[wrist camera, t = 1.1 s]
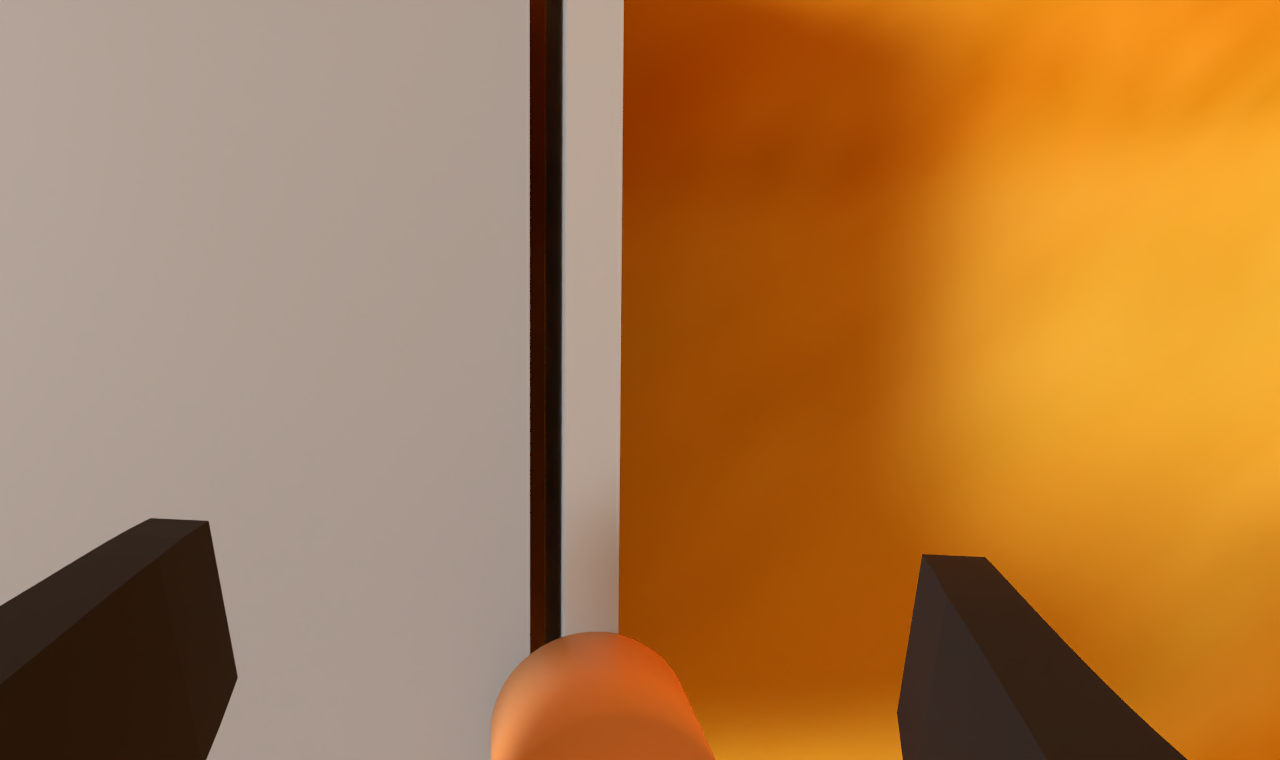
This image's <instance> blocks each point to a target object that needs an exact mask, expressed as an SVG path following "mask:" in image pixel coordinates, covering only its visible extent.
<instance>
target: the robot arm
mask: <svg viewBox="0 0 1280 760" xmlns="http://www.w3.org/2000/svg"><path fill="white" fill-rule="evenodd" d="M237 679H238V675H237V670H236V665H235V659H234V654H233V649H232V643H231V638H230V633H229V627H228V622H227V616H226V611H225V606H224V600H223V595H222V590H221V584H220V579H219V574H218V568H217V563H216V557H215V552H214V547H213V541H212V536H211V531H210V525H209V521H202V520H181V519H159V518H150V519H148V520H146V521H144V522H142V523H140V524H138V525H136V526H134V527H132V528H130V529H128V530H126V531H125V532H123V533H121V534H119V535H117V536H116V537H114V538H112V539H110V540H109V541H107V542H105V543H103V544H102V545H100V546H98V547H97V548H95V549H93V550H92V551H90V552H88V553H87V554H85V555H83V556H82V557H80V558H78V559H77V560H75V561H73V562H72V563H70V564H68V565H67V566H65V567H63V568H62V569H60V570H59V571H57V572H55V573H54V574H52V575H50V576H49V577H47V578H45V579H44V580H42V581H40V582H39V583H37V584H36V585H34V586H32V587H31V588H29V589H27V590H26V591H24V592H22V593H21V594H19V595H17V596H16V597H14V598H12V599H11V600H9V601H7V602H6V603H4V604H2V605H1V606H0V760H206V759H207V757H208V754H209V752H210V750H211V747H212V745H213V742H214V740H215V737H216V735H217V732H218V730H219V727H220V725H221V722H222V719H223V717H224V714H225V711H226V709H227V706H228V703H229V701H230V698H231V695H232V692H233V690H234V687H235V684H236V682H237ZM897 715H898V723H899V731H900V740H901V748H902V756H903V760H1187V759H1186V758H1185V757H1184V756H1183V755H1182V754H1180V753H1179V752H1178V751H1177V750H1176V749H1175V748H1174V747H1173V746H1171V745H1170V744H1169V743H1168V742H1167V741H1166V740H1165V739H1164V738H1162V737H1161V736H1160V735H1159V734H1158V733H1157V732H1156V731H1155V730H1153V729H1152V728H1151V727H1150V726H1149V725H1148V724H1147V723H1146V722H1145V721H1144V720H1143V719H1142V718H1141V717H1140V716H1139V715H1138V714H1137V713H1135V712H1134V711H1133V710H1132V709H1131V708H1130V707H1129V706H1128V705H1127V704H1126V703H1125V702H1124V701H1123V700H1122V699H1121V698H1120V697H1119V696H1118V695H1117V694H1116V693H1115V692H1114V691H1113V690H1112V689H1111V688H1110V687H1109V686H1108V685H1106V683H1105V682H1104V681H1103V680H1102V679H1101V678H1100V677H1099V676H1098V675H1097V674H1096V673H1095V672H1094V671H1093V670H1092V669H1091V668H1090V667H1089V666H1088V665H1087V664H1086V663H1085V662H1084V661H1083V660H1082V659H1081V658H1080V657H1079V656H1078V655H1077V654H1076V653H1075V652H1074V651H1073V650H1072V649H1071V648H1070V647H1069V646H1068V645H1067V644H1066V643H1065V642H1064V641H1063V640H1062V639H1061V638H1060V637H1059V635H1058V634H1057V633H1056V632H1055V631H1054V630H1053V629H1052V628H1051V627H1050V626H1049V625H1048V624H1047V623H1046V622H1045V621H1044V620H1043V619H1042V618H1041V616H1040V615H1039V614H1038V613H1037V612H1036V611H1035V610H1034V609H1033V608H1032V607H1031V606H1030V605H1029V604H1028V603H1027V601H1026V600H1025V599H1024V598H1023V597H1022V596H1021V595H1020V594H1019V593H1018V592H1017V591H1016V590H1015V588H1014V587H1013V586H1012V585H1011V584H1010V583H1009V582H1008V581H1007V580H1006V579H1005V578H1004V577H1003V576H1002V575H1001V573H1000V572H999V571H998V570H997V569H996V568H995V567H994V566H993V565H992V564H991V563H990V562H989V561H988V560H987V559H986V558H985V557H967V556H946V555H925V554H922V560H921V567H920V573H919V579H918V585H917V592H916V598H915V604H914V610H913V617H912V623H911V629H910V636H909V642H908V648H907V654H906V661H905V667H904V673H903V680H902V686H901V692H900V698H899V705H898V711H897Z"/></svg>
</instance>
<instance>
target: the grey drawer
mask: <svg viewBox="0 0 1280 760" xmlns="http://www.w3.org/2000/svg"><path fill="white" fill-rule="evenodd" d="M623 41H624V0H545V641H544V645H543V646H541V647H540V648H538V649H537V650H536V651H534V652H533V653H531V654H530V655H529V656H528V657H526V658H525V659H524V660H523V661H522V662H521V663H520V664H519V665H518V666H517V667H516V668H515V669H514V671H513V672H512V673H511V674H510V676H509V677H508V679H507V680H506V682H505V683H504V685H503V687H502V689H501V691H500V693H499V695H498V697H497V700H496V703H495V706H494V710H493V715H492V720H491V760H715V758H714V756H713V754H712V751H711V749H710V747H709V745H708V743H707V740H706V738H705V736H704V734H703V731H702V729H701V727H700V725H699V723H698V720H697V718H696V716H695V714H694V712H693V709H692V707H691V705H690V703H689V700H688V698H687V696H686V694H685V692H684V689H683V687H682V685H681V683H680V681H679V679H678V677H677V676H676V674H675V673H674V671H673V670H672V668H671V667H670V666H669V665H668V664H667V662H666V661H665V660H664V659H663V658H662V657H661V656H660V655H658V654H657V653H656V652H655V651H654V650H652V649H651V648H649V647H648V646H646V645H644V644H643V643H641V642H639V641H636V640H634V639H632V638H630V637H626V636H623V635H619V634H618V631H619V513H620V395H621V277H622V159H623Z"/></svg>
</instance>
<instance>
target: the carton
mask: <svg viewBox="0 0 1280 760" xmlns="http://www.w3.org/2000/svg"><path fill="white" fill-rule="evenodd" d="M150 518H159V519H181V520H202V521H209V525H210V531H211V536H212V541H213V547H214V552H215V557H216V563H217V568H218V574H219V579H220V584H221V590H222V595H223V600H224V606H225V611H226V616H227V622H228V627H229V633H230V638H231V643H232V649H233V654H234V659H235V665H236V670H237V675H238V679H237V682H236V684H235V687H234V690H233V692H232V695H231V698H230V701H229V703H228V706H227V709H226V711H225V714H224V717H223V719H222V722H221V725H220V727H219V730H218V732H217V735H216V737H215V740H214V742H213V745H212V747H211V750H210V752H209V754H208V757H207V759H206V760H491V720H492V715H493V710H494V706H495V703H496V700H497V697H498V695H499V693H500V691H501V689H502V687H503V685H504V683H505V682H506V680H507V679H508V677H509V676H510V674H511V673H512V672H513V671H514V669H515V668H516V667H517V666H518V665H519V664H520V663H521V662H522V661H523V660H524V659H525V658H526V657H528V656H529V655H530V0H0V606H1V605H2V604H4V603H6V602H7V601H9V600H11V599H12V598H14V597H16V596H17V595H19V594H21V593H22V592H24V591H26V590H27V589H29V588H31V587H32V586H34V585H36V584H37V583H39V582H40V581H42V580H44V579H45V578H47V577H49V576H50V575H52V574H54V573H55V572H57V571H59V570H60V569H62V568H63V567H65V566H67V565H68V564H70V563H72V562H73V561H75V560H77V559H78V558H80V557H82V556H83V555H85V554H87V553H88V552H90V551H92V550H93V549H95V548H97V547H98V546H100V545H102V544H103V543H105V542H107V541H109V540H110V539H112V538H114V537H116V536H117V535H119V534H121V533H123V532H125V531H126V530H128V529H130V528H132V527H134V526H136V525H138V524H140V523H142V522H144V521H146V520H148V519H150Z"/></svg>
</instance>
